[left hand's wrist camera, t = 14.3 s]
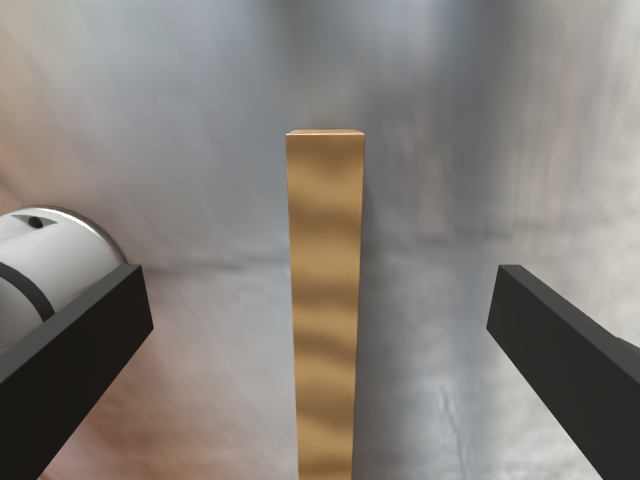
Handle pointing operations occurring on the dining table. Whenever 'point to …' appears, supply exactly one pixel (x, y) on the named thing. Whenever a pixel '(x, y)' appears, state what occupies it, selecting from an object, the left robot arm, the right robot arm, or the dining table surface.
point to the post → (325, 292)
